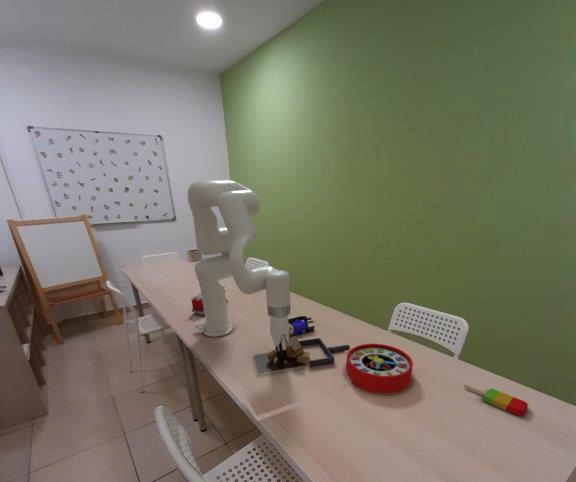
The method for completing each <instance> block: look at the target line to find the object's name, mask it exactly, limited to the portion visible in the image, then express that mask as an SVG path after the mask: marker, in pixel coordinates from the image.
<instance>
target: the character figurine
mask: <svg viewBox="0 0 576 482" xmlns="http://www.w3.org/2000/svg"><path fill="white" fill-rule="evenodd" d="M314 322H315V321H314V320H312V317H310V316H309V317H308V316H307V315H300V316H295V317H292V318H288V324H289V337H292V336H293V335H294V336H300V335H303V334H305V333H310V331H311V330H315V328H316V325H312V326H309V324H313V323H314ZM299 332H301V333H300V334H299Z"/></svg>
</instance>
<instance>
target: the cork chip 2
mask: <svg viewBox="0 0 576 482" xmlns="http://www.w3.org/2000/svg"><path fill="white" fill-rule="evenodd" d="M310 359H311V353H310V352H309V351H304V354H303V355H301V356H299V357H297V362H299V363H305V365H306V364H307V365H308V364H309V365H310V361H311V360H310Z"/></svg>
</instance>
